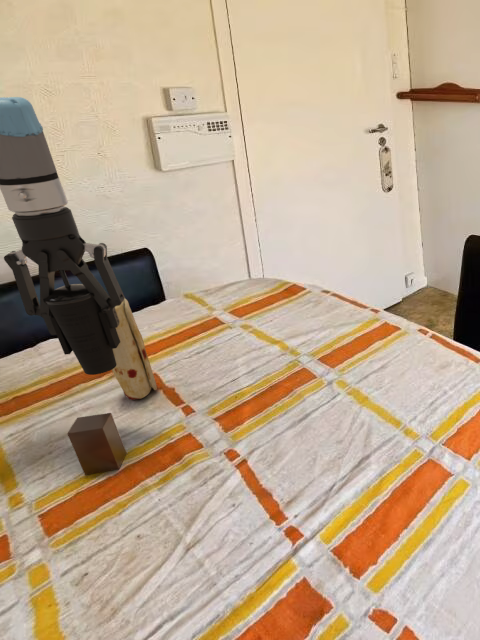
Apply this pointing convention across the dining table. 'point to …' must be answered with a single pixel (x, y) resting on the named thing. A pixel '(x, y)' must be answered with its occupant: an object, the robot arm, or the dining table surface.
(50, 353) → the dining table surface
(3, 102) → the robot arm
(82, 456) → the block
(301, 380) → the dining table surface
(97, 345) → the drinking cup
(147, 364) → the food model
